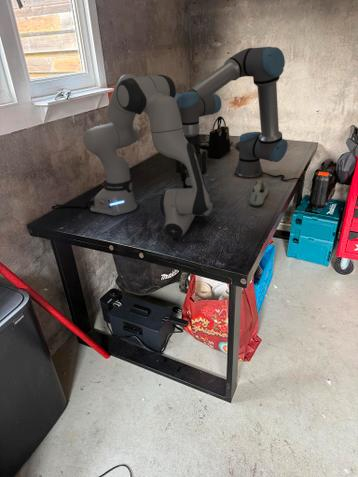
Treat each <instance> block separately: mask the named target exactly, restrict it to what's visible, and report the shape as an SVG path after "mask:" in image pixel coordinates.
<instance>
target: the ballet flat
mask: <svg viewBox="0 0 358 477" xmlns="http://www.w3.org/2000/svg"><path fill="white" fill-rule="evenodd" d="M268 194H269V189H268V186H267V183H266V182H265V181H264V180H262V179H257V180H255V181H254V182H253V184H252V187H251V190H250V196H249V204H250V205H251V206H252V207H260V206H261V205H263V203H264V201H265V198H266V196H267V195H268Z"/></svg>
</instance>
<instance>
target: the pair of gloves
mask: <svg viewBox="0 0 358 477" xmlns="http://www.w3.org/2000/svg"><path fill="white" fill-rule="evenodd" d="M208 144H209V135H207V134H206V135H205V138H204V140H201V145H200V147H201V149H204V148H208ZM233 144H234V141H233V140H230V146H231V145H233Z"/></svg>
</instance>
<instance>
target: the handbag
mask: <svg viewBox="0 0 358 477" xmlns="http://www.w3.org/2000/svg"><path fill="white" fill-rule="evenodd" d="M222 122H223V126H221V125H222ZM216 123H217V124H216ZM216 125H217V126H216ZM215 126H216V127H217V128H215ZM208 136H209V144H208V147H207V153H206V158H212V159H220V158H222V157H224V156H225V155H227V154H228V153H230V152H231V145H230V141H231V139H230V136H231V134H230V128H229V126H227V124H226V120H225V118H224V117H223V116H221V115H219V116H218V117H217V118H216V119H215V121H214V123H213V125H212V128H211V129H210V131H209V135H208Z"/></svg>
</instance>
